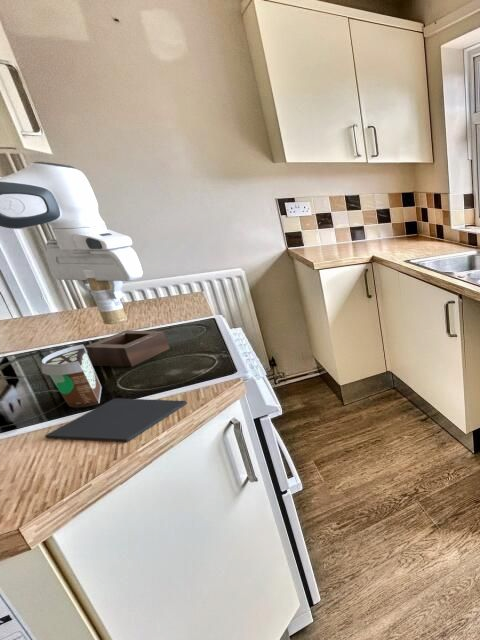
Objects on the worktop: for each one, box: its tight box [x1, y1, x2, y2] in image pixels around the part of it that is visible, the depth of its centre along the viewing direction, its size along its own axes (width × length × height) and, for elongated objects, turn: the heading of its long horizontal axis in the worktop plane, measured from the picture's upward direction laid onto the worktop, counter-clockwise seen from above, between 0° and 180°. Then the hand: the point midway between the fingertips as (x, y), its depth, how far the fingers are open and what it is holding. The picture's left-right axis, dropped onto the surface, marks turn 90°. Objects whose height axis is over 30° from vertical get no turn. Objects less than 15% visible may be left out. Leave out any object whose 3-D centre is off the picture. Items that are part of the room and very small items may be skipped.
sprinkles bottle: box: [83, 270, 128, 325], centre depth 101 cm, size 5×5×13 cm
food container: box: [40, 343, 103, 408], centre depth 85 cm, size 12×6×10 cm, turn 40°
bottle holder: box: [84, 330, 171, 368], centre depth 106 cm, size 11×11×5 cm
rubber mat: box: [44, 398, 188, 443], centre depth 80 cm, size 16×13×1 cm
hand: (106, 298), depth 101 cm, fingers closed on sprinkles bottle, 4 cm apart
